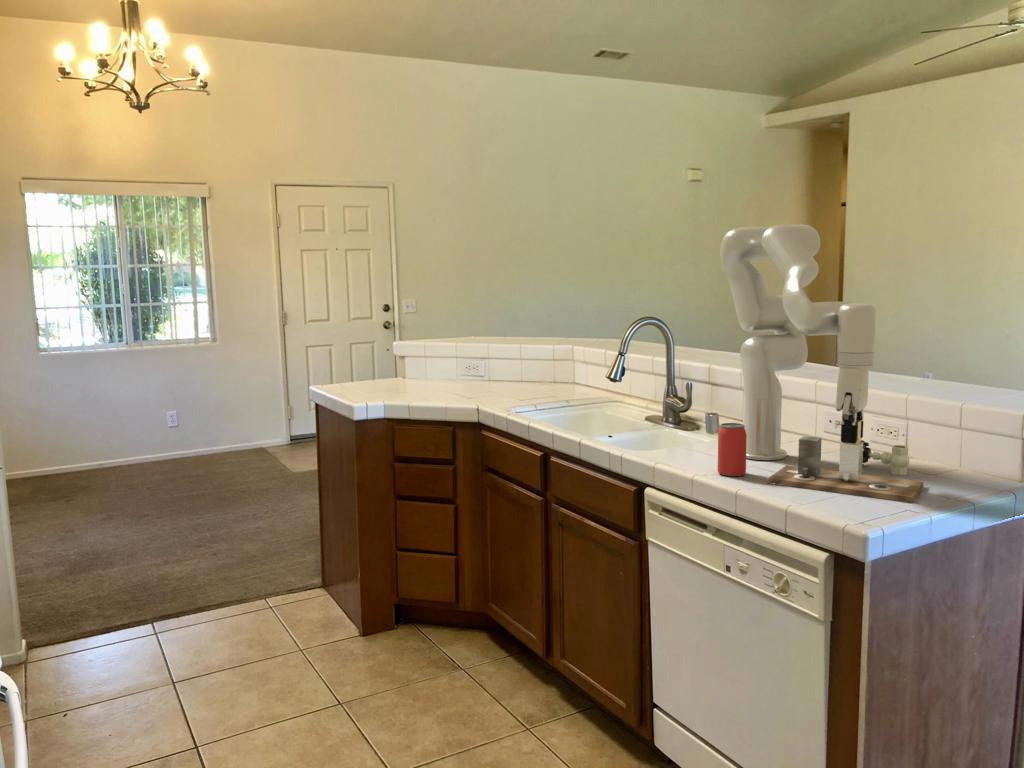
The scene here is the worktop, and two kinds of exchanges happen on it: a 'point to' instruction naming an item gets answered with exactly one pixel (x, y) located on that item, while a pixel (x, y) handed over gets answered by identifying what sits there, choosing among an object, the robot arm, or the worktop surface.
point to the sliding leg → (851, 458)
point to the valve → (889, 458)
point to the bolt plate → (827, 480)
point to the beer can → (732, 449)
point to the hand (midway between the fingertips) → (851, 439)
